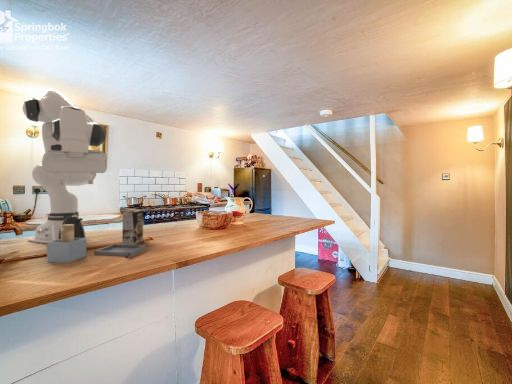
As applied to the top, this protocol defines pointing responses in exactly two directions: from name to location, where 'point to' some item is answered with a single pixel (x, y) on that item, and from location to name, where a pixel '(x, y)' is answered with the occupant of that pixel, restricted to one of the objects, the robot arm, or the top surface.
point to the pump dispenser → (78, 227)
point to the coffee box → (132, 227)
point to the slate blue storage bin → (66, 250)
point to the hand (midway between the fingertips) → (76, 184)
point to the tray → (121, 250)
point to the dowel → (67, 233)
